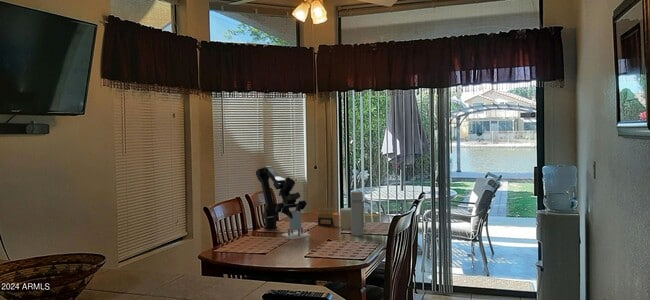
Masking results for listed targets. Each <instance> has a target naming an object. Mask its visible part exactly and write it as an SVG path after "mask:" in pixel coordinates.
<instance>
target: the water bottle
mask: <svg viewBox="0 0 650 300" xmlns="http://www.w3.org/2000/svg"><path fill="white" fill-rule="evenodd" d="M350 208H351V229H350V230H351V232H350V233H351V235H352V236H354V237H362V236H363V235H364V233H365V231H364V228H366V227H367V225H364V224H365V222H367V216H366V209H365V200H364V194H363V191H357V190H356V191H350Z"/></svg>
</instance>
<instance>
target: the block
mask: <svg viewBox="0 0 650 300" xmlns="http://www.w3.org/2000/svg"><path fill="white" fill-rule="evenodd" d="M290 212H291V214H292V217H293V218H292V219H291V218H290V217H288V221H289V222H288V227H289V228H288V229H290V230H291V229H292V230H293V231H298V229H300V230H301V227H302V212H300V211H295V210H290Z"/></svg>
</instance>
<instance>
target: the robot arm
mask: <svg viewBox="0 0 650 300" xmlns="http://www.w3.org/2000/svg"><path fill="white" fill-rule="evenodd" d="M255 175H256V178H257V180H258V181H259V182H260V183H261V188H262V193H263V197H264V202H265V205H264V211H263V213H262V214H261V215H262V219H263V220H264V227H263V229H266V230H267V229H269V230H273V229H276V228H278V226H277V220H276V219H279V213H281V214H284V215H286V216H287V217H288V218H289V217H290V218H291V219H292V218H293V217H292V214H291V212H290V211H291V210H290V209H294V208H295V210H294V211H300V212H301V211H302V210H304V209H305V207H306V206H307V204H308V203H307V201H306V200H299V201H298V203H297V200H298V199H299V198H301V194H300V192H299V191H298V192H296V193H291V191H293V189H294V187H295V186H296V185H295V184H296V181H295V180H294V179H293V178H291V177H290V176H287V177H286V178H284V177H282V176H280V175H279V174H278V173H277V172H276V170H274V167H273V166H271V165H269V166H263V167H261V168H258V169H256V171H255ZM269 180H271V181H272V182H273V187H274V188H275V190H279V191H278V196H279V197H281V199H282V201H281V202H278V203H277V202H276V203H275V202H274V199H273V195H272V190H271V186H270V181H269ZM301 213H302V212H301Z"/></svg>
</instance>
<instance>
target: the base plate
mask: <svg viewBox="0 0 650 300" xmlns="http://www.w3.org/2000/svg"><path fill="white" fill-rule="evenodd" d="M303 229H304V227H303V226H301V229H297V231H294V230H292V229H290V228H287V232H285V233H281V237H283V238H287V239H289V240H297V239H304V238H310V237H311V234H309V233H306V232H304V230H303Z"/></svg>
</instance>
